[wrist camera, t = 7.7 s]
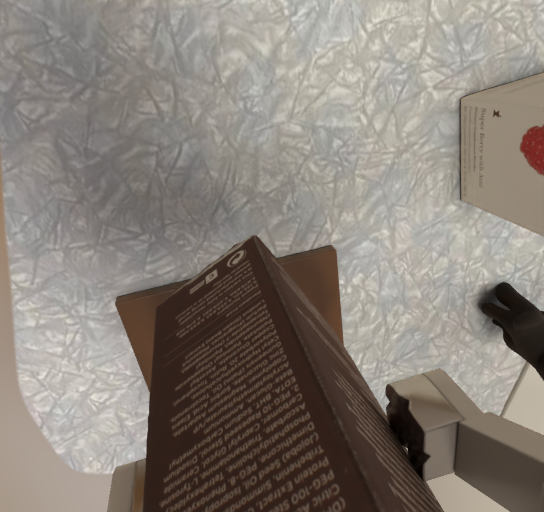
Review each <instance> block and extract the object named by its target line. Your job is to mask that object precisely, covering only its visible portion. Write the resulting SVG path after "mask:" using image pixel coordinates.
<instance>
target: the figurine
mask: <svg viewBox="0 0 544 512" xmlns="http://www.w3.org/2000/svg"><path fill="white" fill-rule="evenodd" d="M496 297H497V299H498V300H499V301H500V302H501V303H502V304H503V305H505V306H507V307H508V308H509V309H510V310H505V309H503V308H501V307H499V306H497V305H495V304H493V303H490V302H486V303H484V304H483V305H482V307H481V309H482V312H483V313H484V314H486V315H487V316H489V317H491V318H493V320H492V322H493V323H494V324H495V325H497V326H499V327H501V328H502V329H503V339H504V341H505V343H506V345H507V346H508V347H509V348H510V349H511V350H513V351H514V352H516V353H517V354H519V355H520V356H521V357H523V358H524V359H525V360H526V361H527V362H529V363H530V364H531V365H532V366H533V367H534V368H535V369H536V370H537V372H538V373H539V375H540V376H541V377H542V379H543V380H544V311H540V310H539V309H538V308H537V307H536V306H534V305H533V304H532V303H531V302H529V301H528V300H527V299H525V298H524V297H523V296H521V295H520V294H519V293H518V292H517V291H516V290H515V289H514V288H513V287H512V286H511V285H510V284H508V283H502V284H501V285H500V286H499V287H498V288H497V291H496Z"/></svg>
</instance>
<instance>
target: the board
mask: <svg viewBox="0 0 544 512" xmlns="http://www.w3.org/2000/svg"><path fill="white" fill-rule="evenodd" d="M277 260H278V261H279V262H280V264H281V265H282V266H283V267H284V269H285V270H286V271H287V272H288V273H289V275H290V276H291V277H292V278H293V280H294V281H295V282H296V283H297V284H298V286H299V287H300V288H301V290H302V291H303V292H304V293H305V294H306V296H307V297H308V298H309V300H310V301H311V302H312V303H313V305H314V306H315V307H316V308H317V310H318V311H319V312H320V313H321V315H322V316H323V317H324V318H325V320H326V321H327V322H328V324H329V325H330V326H331V328H332V329H333V330H334V332H335V333H336V334H337V336H338V337H339V338H340V340H341V342H342V344H343V331H342V318H341V305H340V292H339V279H338V266H337V253H336V249H335V248H334V247H333V246H328V247H324V248H320V249H315V250H311V251H307V252H303V253H299V254H295V255H291V256H286V257H282V258H278V259H277ZM188 281H190V280H187V281H183V282H179V283H175V284H170V285H166V286H162V287H158V288H154V289H150V290H146V291H141V292H137V293H133V294H129V295H125V296H121V297H117V298H116V303H115V305H116V307H117V310H118V312H119V315H120V317H121V320H122V323H123V325H124V328H125V330H126V333H127V335H128V338H129V341H130V343H131V346H132V348H133V351H134V353H135V356H136V359H137V361H138V364H139V366H140V369H141V371H142V374H143V376H144V379H145V382H146V384H147V387H148V389H149V392H150V387H151V372H152V358H153V345H154V332H155V330H154V326H155V316H156V307H157V306H158V305H160V304H161V303H162V302H163V301H164V300H165V299H167V298H168V297H169V296H171V295H172V294H173V293H174V292H176V291H177V290H178V289H180V288H181V287H182V286H184V285H185V284H186V283H187V282H188ZM343 345H344V344H343Z"/></svg>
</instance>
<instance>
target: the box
mask: <svg viewBox="0 0 544 512" xmlns="http://www.w3.org/2000/svg"><path fill="white" fill-rule="evenodd" d="M154 330H155V332H154V345H153V358H152V372H151V387H150V401H149V416H148V433H147V454H146V470H145V481H144V494H143V512H444V511H443V509H442V508H441V506H440V504H439V503H438V501H437V500H436V498H435V496H434V494H433V493H432V491H431V489H430V488H429V486H428V484H427V483H426V481H425V482H423V481H422V479H421V478H420V476H419V474H418V473H417V471H416V469H415V468H414V466H413V464H412V462H411V461H410V459H409V457H408V451H407V449H406V448H405V447H404V446H402V445H401V443H400V442H399V440H398V439H397V437H396V435H395V434H394V432H393V430H392V429H391V427H390V425H389V422H388V419H387V416H386V415H385V413H384V411H383V410H382V408H381V406H380V404H379V403H378V401H377V399H376V398H375V396H374V394H373V393H372V391H371V390H370V388H369V386H368V385H367V383H366V381H365V380H364V378H363V376H362V375H361V373H360V372H359V370H358V368H357V367H356V365H355V363H354V362H353V360H352V358H351V357H350V355H349V354H348V352H347V350H346V349H345V347H344V345H343V344H342V342H341V340H340V338H339V337H338V336H337V334H336V333H335V332H334V330H333V329H332V328H331V326H330V325H329V324H328V322H327V321H326V320H325V318H324V317H323V316H322V315H321V313H320V312H319V311H318V310H317V308H316V307H315V306H314V305H313V303H312V302H311V301H310V300H309V298H308V297H307V296H306V294H305V293H304V292H303V291H302V290H301V288H300V287H299V286H298V284H297V283H296V282H295V281H294V280H293V278H292V277H291V276H290V275H289V273H288V272H287V271H286V270H285V269H284V267H283V266H282V265H281V264H280V262H279V261H278V260H277V259H276V258H275V256H274V255H273V254H272V253H271V251H270V250H269V249H268V248H267V247H266V246H265V245H264V243H263V242H262V241H261V240H260V239H259V238H258V237H257V236H256V235H253V236H250V237H249V238H247V239H246V240H244V241H242V242H240V243H238V244H236V245H234V246H233V247H232V248H231V249H230V250H229V251H228V252H227V253H225V254H224V255H222V256H221V257H220V258H218V259H217V260H216V261H215V262H213V263H211V264H209V265H208V266H207V267H206V268H205V269H204V270H203V271H201V272H200V273H199V274H198V275H197V276H195V277H194V278H193V279H191V280H190V281H188V282H187V283H186V284H185V285H184V286H182V287H181V288H180V289H178V290H177V291H176V292H174V293H173V294H172V295H171V296H169V297H168V298H167V299H165V300H164V301H163V302H162V303H161V304H160V305H158V306H157V307H156V316H155V326H154Z"/></svg>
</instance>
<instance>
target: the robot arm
mask: <svg viewBox="0 0 544 512" xmlns="http://www.w3.org/2000/svg"><path fill="white" fill-rule="evenodd" d="M386 396H387V398H388V399H389V401H390V402H389V404H388V405H387V407H386V411H387V419H388V422H389V425H390V427H391V429H392V430H393V432H394V434H395V435H396V437H397V439H398V440H399V442H400V443H401V445H402V446H404V447H406V448H408V457H409V459H410V461H411V462H412V464H413V466H414V468H415V469H416V471H417V473H418V474H419V476H420V478H421V479H422V481H423V482H425V481H428V480H431V479H434V478H437V477H441V476H444V475H447V474H450V473H453V472H455V475H457V476H458V477H460V478H461V479H463V480H464V481H465V482H467V483H469V484H470V485H472V486H473V487H474V488H476V489H477V490H479V491H480V492H482V493H483V494H485V495H486V496H488V497H490V498H491V499H492V500H494V501H495V502H497V503H498V504H500V505H501V506H503V507H504V508H506V509H507V510H509V511H510V512H544V435H542V434H540V433H537V432H535V431H532V430H530V429H528V428H525V427H523V426H521V425H519V424H516V423H514V422H512V421H509V420H507V419H505V418H502V417H500V416H498V415H495V414H493V413H491V412H487V413H483V412H482V411H481V410H480V409H479V408H478V407H477V405H476V404H475V403H474V402H473V401H472V400H471V399H470V398H469V397H468V396H467V395H466V394H465V393H464V392H463V391H462V389H461V388H460V387H459V386H458V385H457V384H456V383H455V382H454V381H453V380H452V379H451V378H450V377H449V376H448V375H447V373H446V372H445V371H444V370H442V369H440V368H439V369H435V370H432V371H429V372H426V373H422V374H418V375H415V376H412V377H409V378H406V379H403V380H400V381H396V382H393V383H390V384H387V386H386ZM145 470H146V458H145V459H142V460H138V461H135V462H132V463H128V464H125V465H121V466H118V467H116V469H115V471H114V473H113V477H112V483H111V490H110V497H109V503H108V510H107V512H143V494H144V481H145Z"/></svg>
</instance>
